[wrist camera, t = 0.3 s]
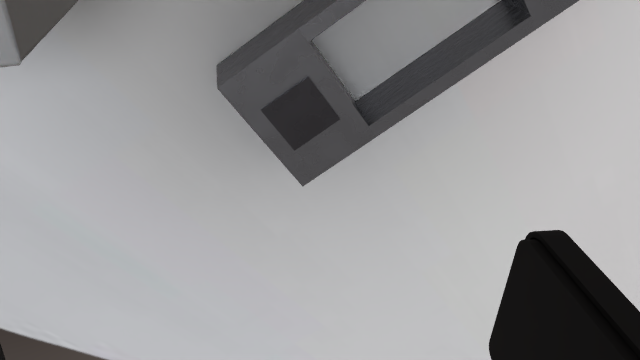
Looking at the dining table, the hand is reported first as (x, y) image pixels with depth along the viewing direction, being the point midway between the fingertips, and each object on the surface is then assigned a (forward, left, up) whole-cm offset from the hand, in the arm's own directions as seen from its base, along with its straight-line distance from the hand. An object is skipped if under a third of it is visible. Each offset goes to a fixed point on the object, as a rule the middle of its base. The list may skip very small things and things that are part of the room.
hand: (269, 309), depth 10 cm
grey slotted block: (-9, +8, -29) cm, 31 cm away
